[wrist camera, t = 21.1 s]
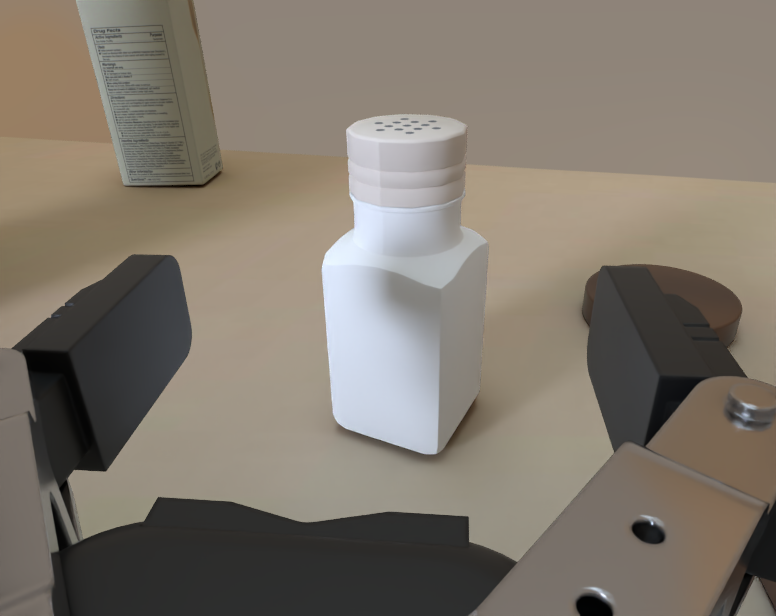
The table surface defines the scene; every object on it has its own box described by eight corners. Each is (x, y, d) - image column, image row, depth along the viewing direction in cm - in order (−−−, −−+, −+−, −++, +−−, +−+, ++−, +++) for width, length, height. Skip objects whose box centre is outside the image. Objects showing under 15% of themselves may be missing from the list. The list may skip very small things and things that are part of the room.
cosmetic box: (225, 170, 47) (198, -10, 42) (204, 187, 44) (171, -8, 38) (144, 169, 48) (107, -8, 42) (117, 186, 44) (72, -6, 38)
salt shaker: (484, 395, 22) (503, 116, 17) (440, 468, 19) (449, 151, 14) (383, 368, 23) (375, 106, 19) (326, 430, 20) (301, 135, 16)
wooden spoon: (1147, 865, 10) (1191, 830, 10) (760, 823, 11) (780, 788, 10) (705, 289, 28) (711, 265, 28) (571, 285, 29) (575, 261, 29)
